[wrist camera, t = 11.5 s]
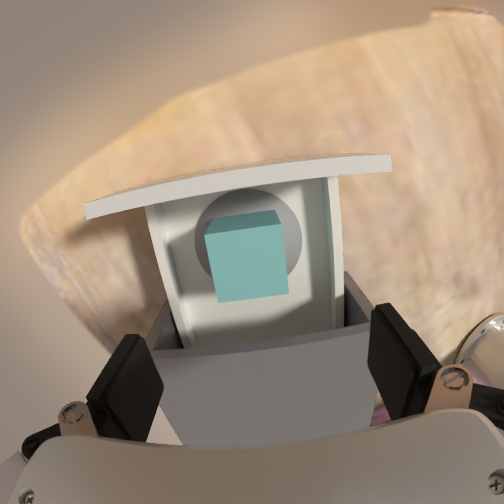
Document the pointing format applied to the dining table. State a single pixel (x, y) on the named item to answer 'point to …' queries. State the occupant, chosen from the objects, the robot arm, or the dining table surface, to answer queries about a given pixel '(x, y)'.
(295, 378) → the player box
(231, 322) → the tray
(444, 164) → the dining table surface
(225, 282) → the teal block
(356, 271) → the dining table surface
